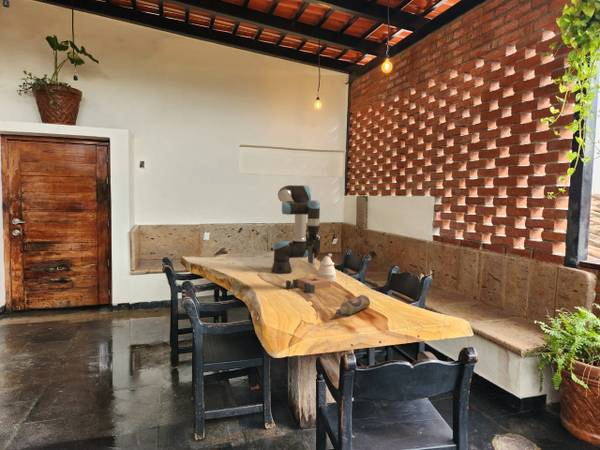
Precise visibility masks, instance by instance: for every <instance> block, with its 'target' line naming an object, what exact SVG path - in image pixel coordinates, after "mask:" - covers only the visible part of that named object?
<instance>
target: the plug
mask: <svg viewBox="0 0 600 450" xmlns="http://www.w3.org/2000/svg"><path fill="white" fill-rule="evenodd" d="M313 252H314V250H313V246H308V257H307V263H308V266H310V267H315V266H316V265H317V263H313Z"/></svg>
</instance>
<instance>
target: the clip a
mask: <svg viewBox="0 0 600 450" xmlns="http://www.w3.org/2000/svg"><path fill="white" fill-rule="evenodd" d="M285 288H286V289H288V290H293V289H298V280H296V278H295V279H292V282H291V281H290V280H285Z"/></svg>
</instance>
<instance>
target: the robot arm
mask: <svg viewBox="0 0 600 450" xmlns="http://www.w3.org/2000/svg"><path fill="white" fill-rule="evenodd" d="M277 198H278V200H279V201H280V202H281V203H282V204H281V212H282V215H287V216H289V215H294V237H293V239H292V241H291V242H290V240H279V241H276V242H274V244H273V264H272V266H271V269H270V272H271V273H273V274H279V275H285V274H291V273H292V271H293V269H292V267H291V263H290V259H298V258H299V259H303V258H308V246H313V250H314V252H313V263H316V264H317V263H318V253H320V251H321V240H322V239H321V238H322V237H321V236H320V235H319V232H320V214H321V213H320V212H321V211H320V210H321V205H320V203H321V202H320V201H319V200H316V199H314V200H312V192H311V188H310V187H309V186H308V185H297V184H296V185H295V184H294V185H293V184H292V185H291V184H290V185H285V186H283V187H281V188H280V189H279V190H278V193H277ZM307 232H308V233H307Z"/></svg>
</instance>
